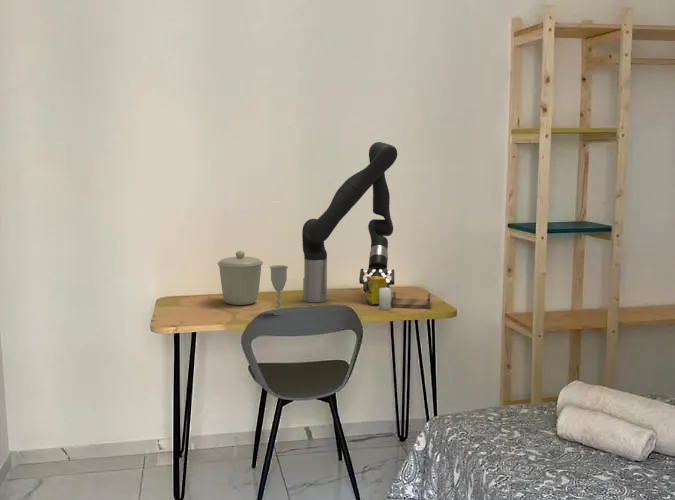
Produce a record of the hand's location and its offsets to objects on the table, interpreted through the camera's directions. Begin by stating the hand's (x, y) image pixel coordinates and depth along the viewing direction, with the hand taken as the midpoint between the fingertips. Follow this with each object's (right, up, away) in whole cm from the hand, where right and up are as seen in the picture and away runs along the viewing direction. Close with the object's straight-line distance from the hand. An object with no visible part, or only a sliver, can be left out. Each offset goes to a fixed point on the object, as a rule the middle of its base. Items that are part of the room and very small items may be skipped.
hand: (376, 291), depth 302 cm
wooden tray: (+14, -5, 0) cm, 15 cm away
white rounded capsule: (+3, -6, -6) cm, 9 cm away
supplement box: (0, -5, +2) cm, 6 cm away
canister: (-54, -5, +3) cm, 55 cm away
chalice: (-37, -8, -16) cm, 42 cm away
